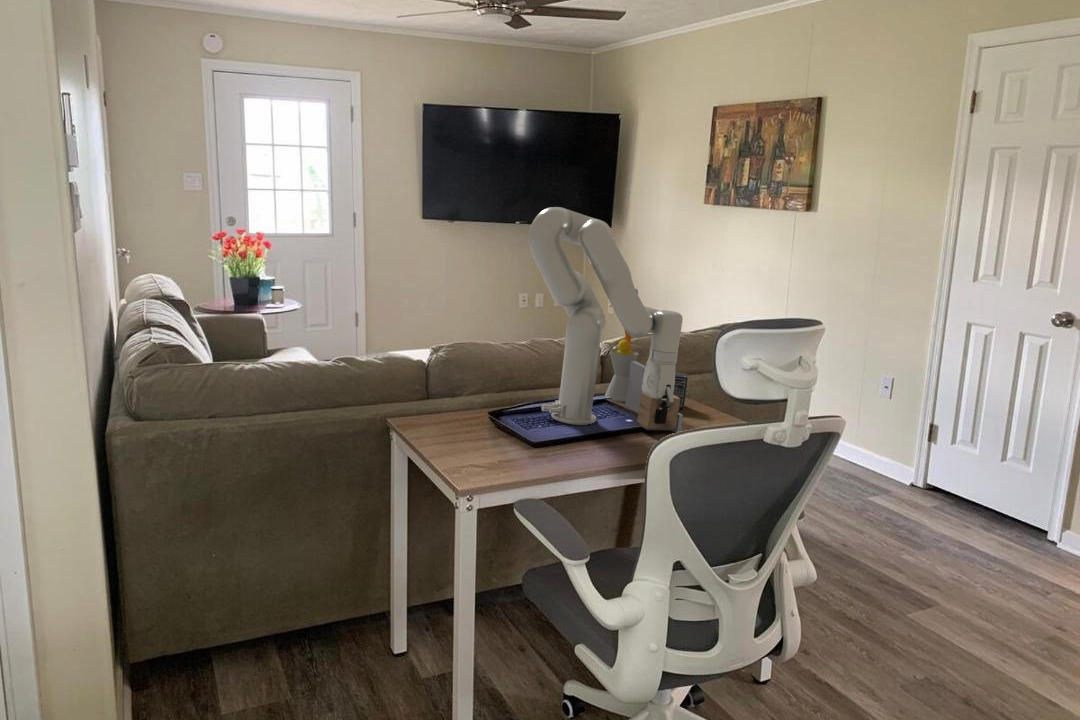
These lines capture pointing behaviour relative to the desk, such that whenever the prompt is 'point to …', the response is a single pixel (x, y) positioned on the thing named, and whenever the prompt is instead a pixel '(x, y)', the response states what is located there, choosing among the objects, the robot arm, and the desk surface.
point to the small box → (680, 387)
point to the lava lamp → (621, 368)
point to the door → (679, 423)
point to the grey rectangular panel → (635, 385)
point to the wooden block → (649, 411)
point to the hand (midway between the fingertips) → (654, 419)
